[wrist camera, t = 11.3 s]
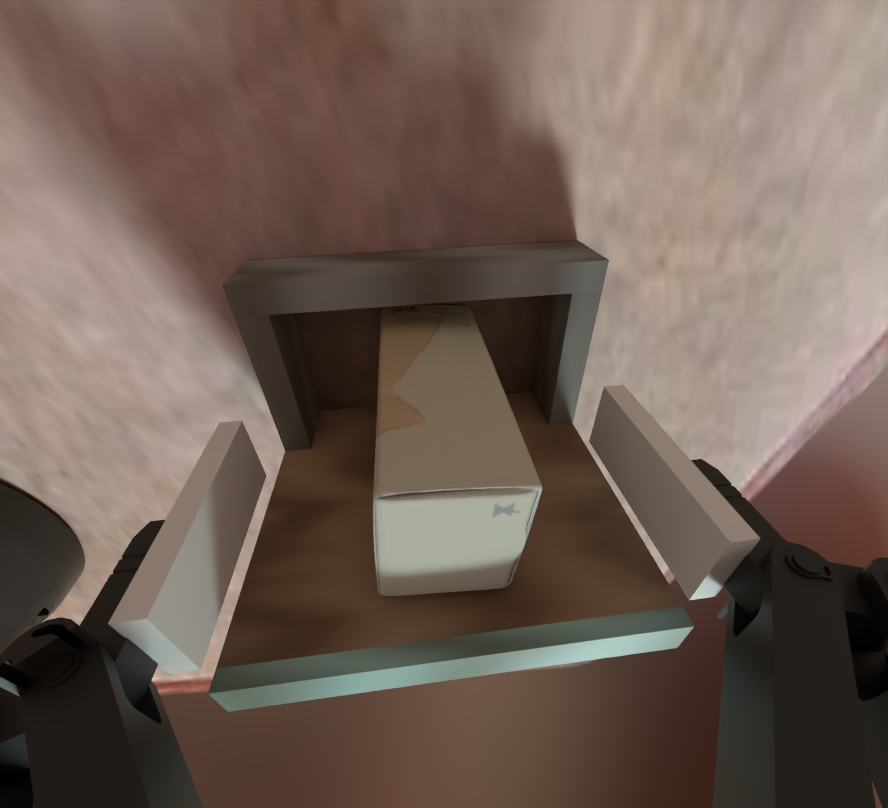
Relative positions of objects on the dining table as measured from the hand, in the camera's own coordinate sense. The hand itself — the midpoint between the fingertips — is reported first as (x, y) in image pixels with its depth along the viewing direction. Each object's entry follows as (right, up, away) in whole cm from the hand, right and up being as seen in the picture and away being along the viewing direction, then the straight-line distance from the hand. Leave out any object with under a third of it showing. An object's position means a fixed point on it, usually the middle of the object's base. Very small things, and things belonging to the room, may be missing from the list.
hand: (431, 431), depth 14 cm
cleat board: (-1, +4, +5) cm, 6 cm away
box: (-1, +4, +5) cm, 6 cm away
